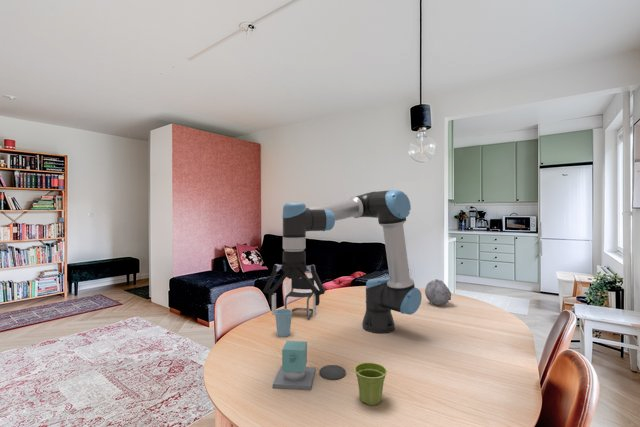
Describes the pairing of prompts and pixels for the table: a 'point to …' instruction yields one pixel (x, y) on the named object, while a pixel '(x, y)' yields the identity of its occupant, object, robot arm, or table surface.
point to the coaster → (332, 372)
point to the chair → (300, 285)
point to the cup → (283, 322)
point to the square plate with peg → (295, 379)
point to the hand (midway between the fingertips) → (294, 314)
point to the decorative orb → (437, 292)
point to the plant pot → (370, 381)
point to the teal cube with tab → (294, 356)
